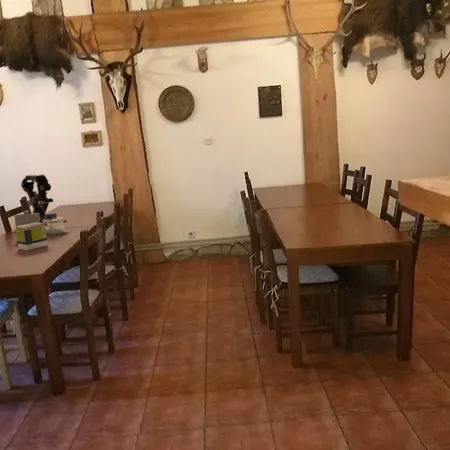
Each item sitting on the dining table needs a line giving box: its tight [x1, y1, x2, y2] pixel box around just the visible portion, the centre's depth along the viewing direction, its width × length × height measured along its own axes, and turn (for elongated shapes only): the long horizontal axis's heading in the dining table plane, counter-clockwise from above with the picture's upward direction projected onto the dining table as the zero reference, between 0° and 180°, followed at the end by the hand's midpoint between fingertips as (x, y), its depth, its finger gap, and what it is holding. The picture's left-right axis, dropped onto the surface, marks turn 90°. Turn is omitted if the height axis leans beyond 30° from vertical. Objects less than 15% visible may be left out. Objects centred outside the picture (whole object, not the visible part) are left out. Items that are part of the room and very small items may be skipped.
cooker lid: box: [43, 212, 65, 223], centre depth 375 cm, size 14×14×4 cm
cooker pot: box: [43, 219, 68, 236], centre depth 376 cm, size 13×18×9 cm
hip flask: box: [13, 210, 40, 242], centre depth 356 cm, size 16×4×20 cm, turn 104°
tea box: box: [15, 222, 49, 251], centre depth 332 cm, size 15×10×15 cm, turn 141°
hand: (44, 212), depth 388 cm, fingers closed
